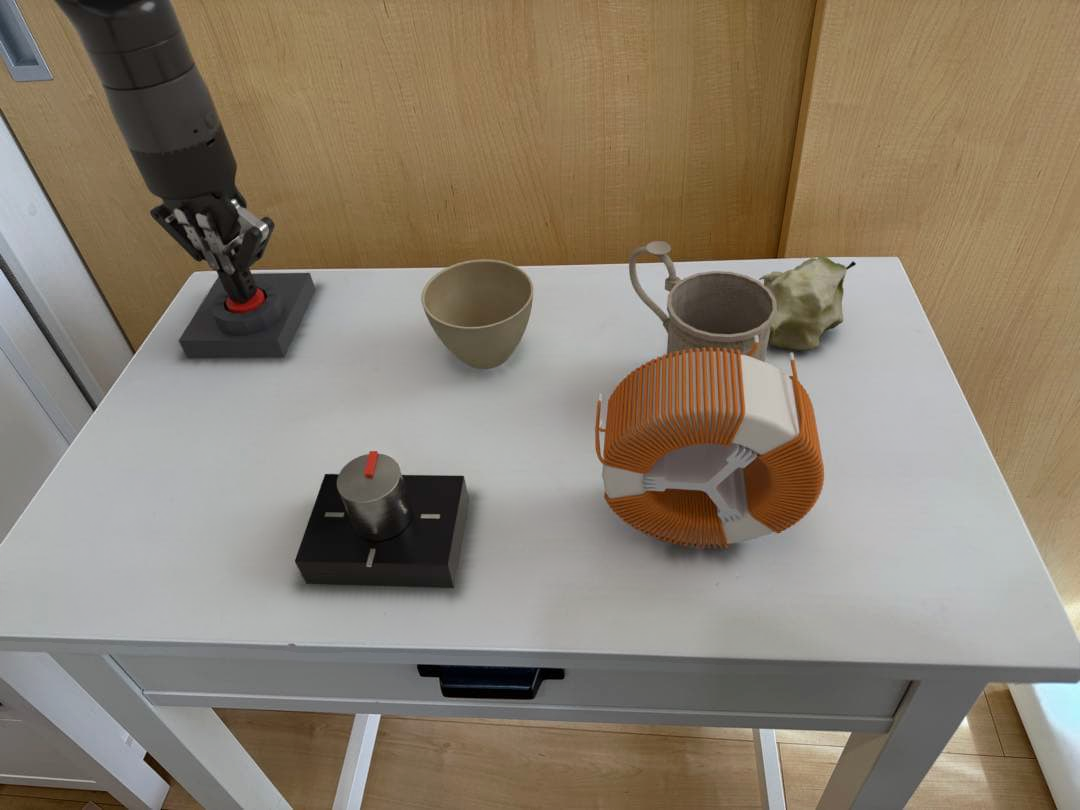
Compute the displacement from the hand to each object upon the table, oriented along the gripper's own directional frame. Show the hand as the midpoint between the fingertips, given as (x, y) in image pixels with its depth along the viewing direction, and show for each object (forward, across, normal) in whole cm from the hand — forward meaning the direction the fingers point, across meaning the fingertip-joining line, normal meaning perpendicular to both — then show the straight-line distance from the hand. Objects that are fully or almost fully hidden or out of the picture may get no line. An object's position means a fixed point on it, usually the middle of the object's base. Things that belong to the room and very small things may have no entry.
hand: (244, 297), depth 75 cm
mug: (+4, +42, +8) cm, 43 cm away
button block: (+4, -2, +1) cm, 5 cm away
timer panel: (+4, +26, -17) cm, 32 cm away
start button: (+2, 0, 0) cm, 2 cm away
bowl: (+4, +24, +5) cm, 24 cm away
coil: (+4, +47, -6) cm, 48 cm away
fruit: (+4, +50, +18) cm, 53 cm away
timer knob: (+1, +27, -17) cm, 32 cm away
